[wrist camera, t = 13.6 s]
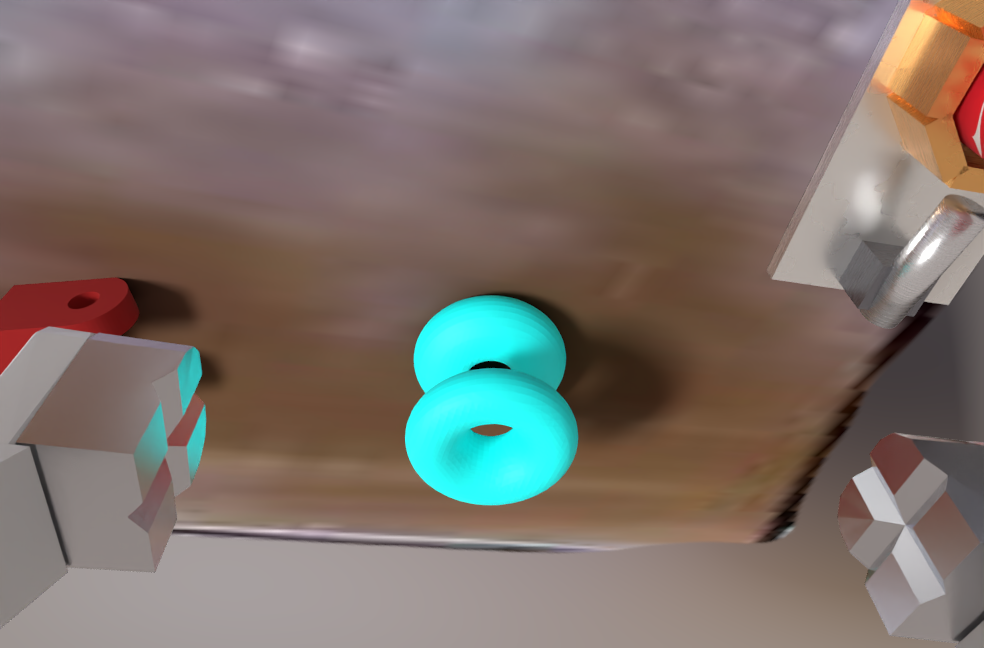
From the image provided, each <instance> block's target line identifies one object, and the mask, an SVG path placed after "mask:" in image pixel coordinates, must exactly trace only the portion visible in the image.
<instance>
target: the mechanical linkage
mask: <svg viewBox="0 0 984 648" xmlns="http://www.w3.org/2000/svg"><path fill="white" fill-rule="evenodd" d="M138 316H139V309H138V306H137V304H136V302H135V300H134V298H133V296H132V294H131V292H130V290H129V288H128V285H127V284H126V282H125V281H123V280H122V279H119V278H104V279H91V280H78V281H65V282H52V283H39V284H26V285H14V286H13V287H12V288H11V289H10V290H9V291H8V293H7V294H6V295H5V296H4V297H3V298H2V299H1V300H0V375H1V374H2V373H3V371H4V370H5V369H6V368H7V366H8V365H9V364H10V363H11V362H12V360H13V359H14V358H15V357H16V355H17V354H18V353H19V352H20V350H21V349H22V348H23V347H24V345H25V344H26V343H27V342H28V341H29V339H30V338H31V337H32V336H33V334H35V333H36V332H38V331H40V330H42V329H44V328H46V327H56V328H63V329H70V330H76V331H83V332H90V333H95V334H98V333H104V334H111V335H117V336H121V335H122V334H124V333H125V332H126V331H128V330H129V329H130V328H131V327H132V326H133V325H134V324H135V322H136V321H137V319H138Z"/></svg>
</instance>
